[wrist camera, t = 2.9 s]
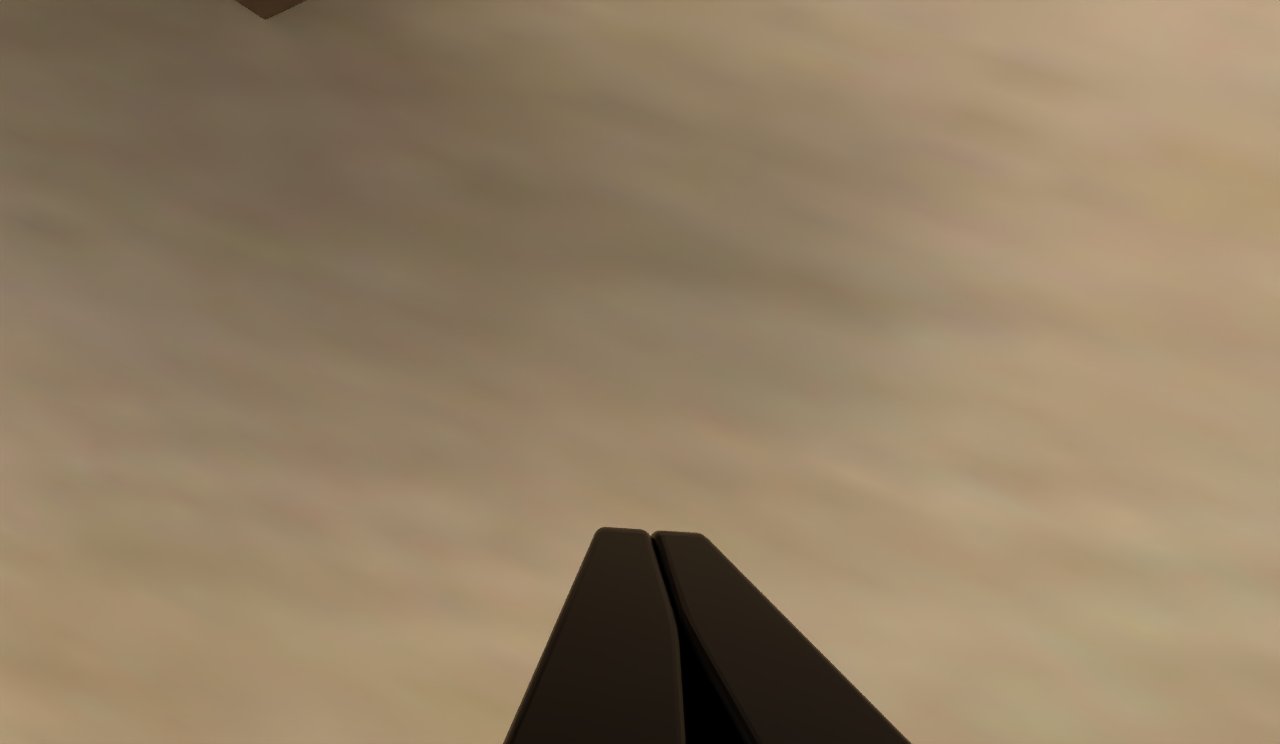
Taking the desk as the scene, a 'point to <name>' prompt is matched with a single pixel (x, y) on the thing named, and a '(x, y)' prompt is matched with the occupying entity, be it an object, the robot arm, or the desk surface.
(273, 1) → the domino
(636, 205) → the desk surface
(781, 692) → the robot arm
